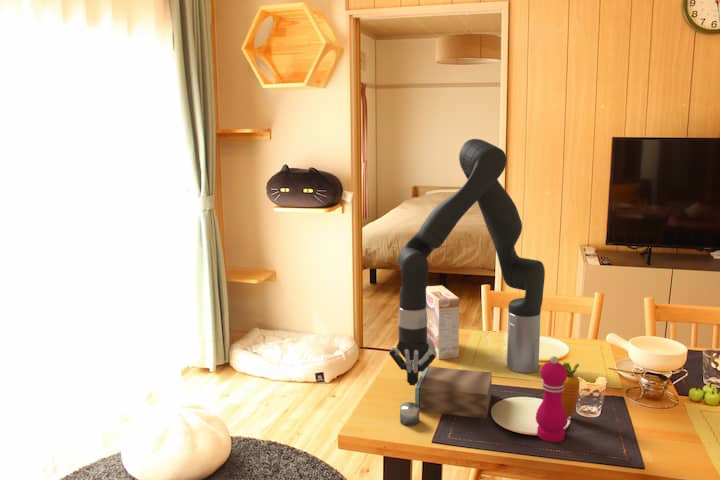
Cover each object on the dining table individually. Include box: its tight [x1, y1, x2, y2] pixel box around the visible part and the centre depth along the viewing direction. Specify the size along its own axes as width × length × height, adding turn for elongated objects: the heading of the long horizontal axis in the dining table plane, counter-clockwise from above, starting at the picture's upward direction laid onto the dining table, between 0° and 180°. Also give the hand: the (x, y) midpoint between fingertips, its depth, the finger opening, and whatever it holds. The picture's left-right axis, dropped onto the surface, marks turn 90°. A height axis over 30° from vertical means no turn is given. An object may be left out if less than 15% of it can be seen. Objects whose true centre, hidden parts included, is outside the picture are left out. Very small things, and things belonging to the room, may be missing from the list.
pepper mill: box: [535, 356, 569, 443], centre depth 153 cm, size 7×7×20 cm
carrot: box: [561, 361, 581, 418], centre depth 161 cm, size 5×5×15 cm
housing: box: [419, 366, 493, 419], centre depth 172 cm, size 17×14×6 cm
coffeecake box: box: [426, 284, 460, 360], centre depth 207 cm, size 15×7×20 cm, turn 14°
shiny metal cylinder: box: [399, 401, 420, 427], centre depth 162 cm, size 5×5×4 cm
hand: (412, 384), depth 175 cm, fingers closed
